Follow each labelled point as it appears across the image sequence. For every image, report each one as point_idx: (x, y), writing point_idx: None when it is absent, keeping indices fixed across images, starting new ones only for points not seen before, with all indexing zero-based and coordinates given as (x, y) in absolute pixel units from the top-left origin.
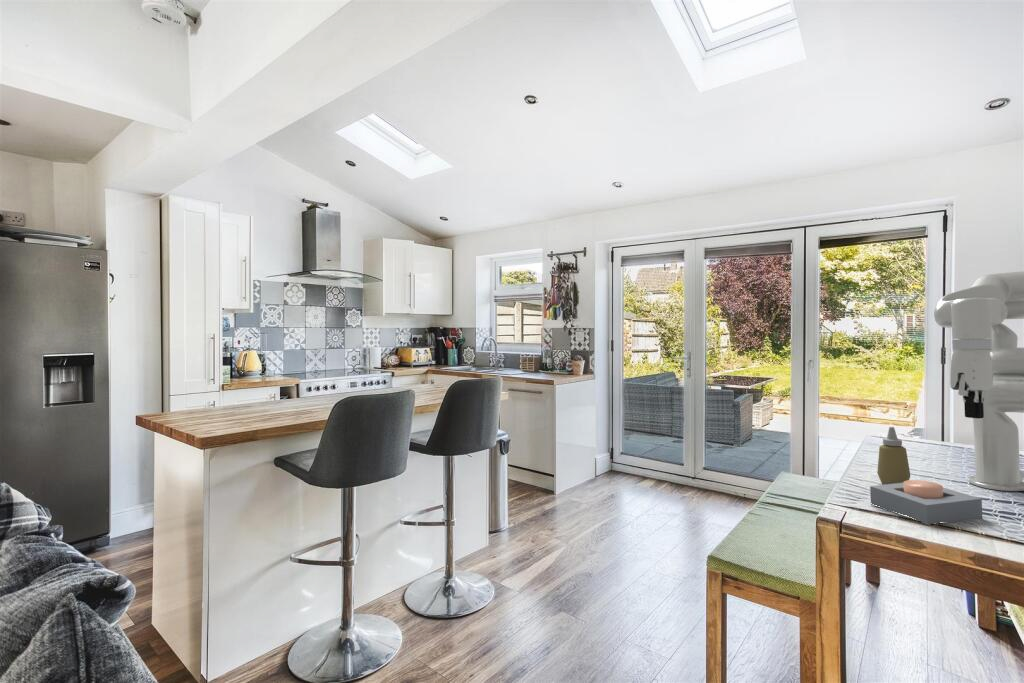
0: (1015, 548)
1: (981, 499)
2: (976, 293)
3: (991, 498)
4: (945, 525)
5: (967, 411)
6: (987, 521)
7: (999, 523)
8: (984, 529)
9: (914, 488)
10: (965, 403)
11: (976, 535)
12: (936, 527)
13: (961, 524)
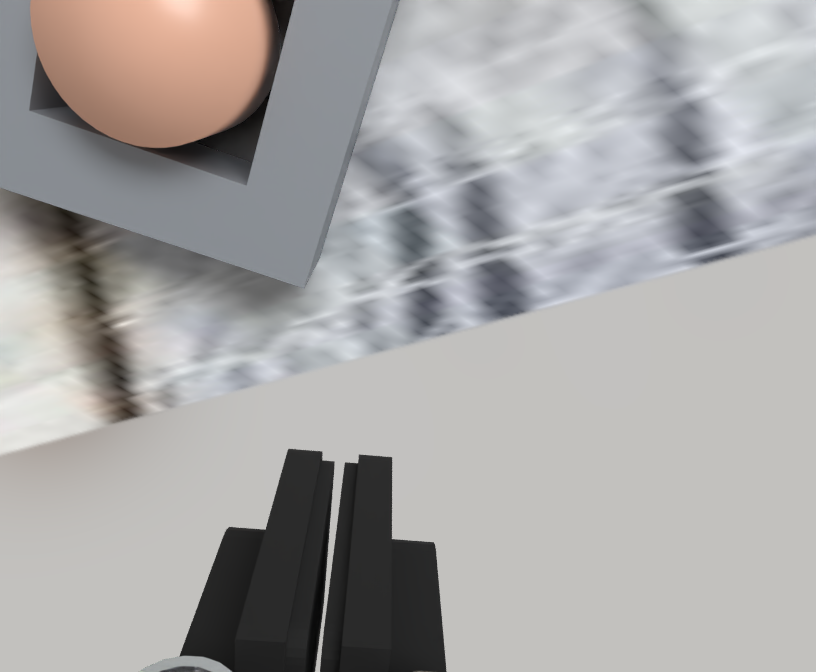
0: (59, 438)
1: (303, 286)
2: None
3: (722, 166)
4: None
5: (219, 554)
6: None
7: (310, 320)
8: (175, 312)
9: (36, 28)
10: (239, 626)
11: (71, 319)
12: None
13: None
